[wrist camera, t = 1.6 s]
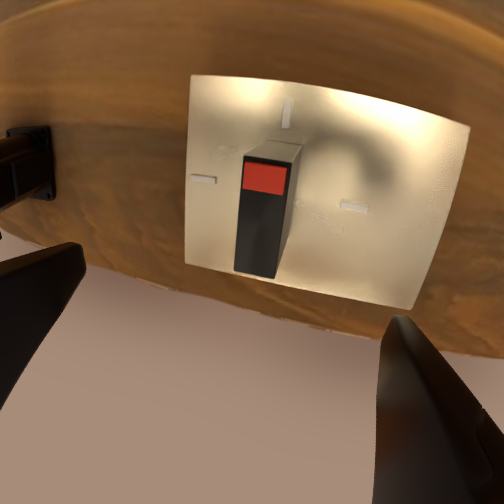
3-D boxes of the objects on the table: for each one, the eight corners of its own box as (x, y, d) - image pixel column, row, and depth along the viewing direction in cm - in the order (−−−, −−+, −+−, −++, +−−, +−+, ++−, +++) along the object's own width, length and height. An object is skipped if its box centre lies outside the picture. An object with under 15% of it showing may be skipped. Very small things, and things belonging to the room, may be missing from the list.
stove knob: (287, 239, 17) (273, 283, 13) (254, 232, 17) (231, 274, 14) (302, 145, 14) (291, 164, 11) (265, 139, 15) (241, 156, 11)
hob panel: (202, 241, 22) (183, 264, 19) (211, 75, 16) (188, 74, 14) (403, 283, 20) (411, 312, 17) (451, 120, 14) (473, 126, 12)
